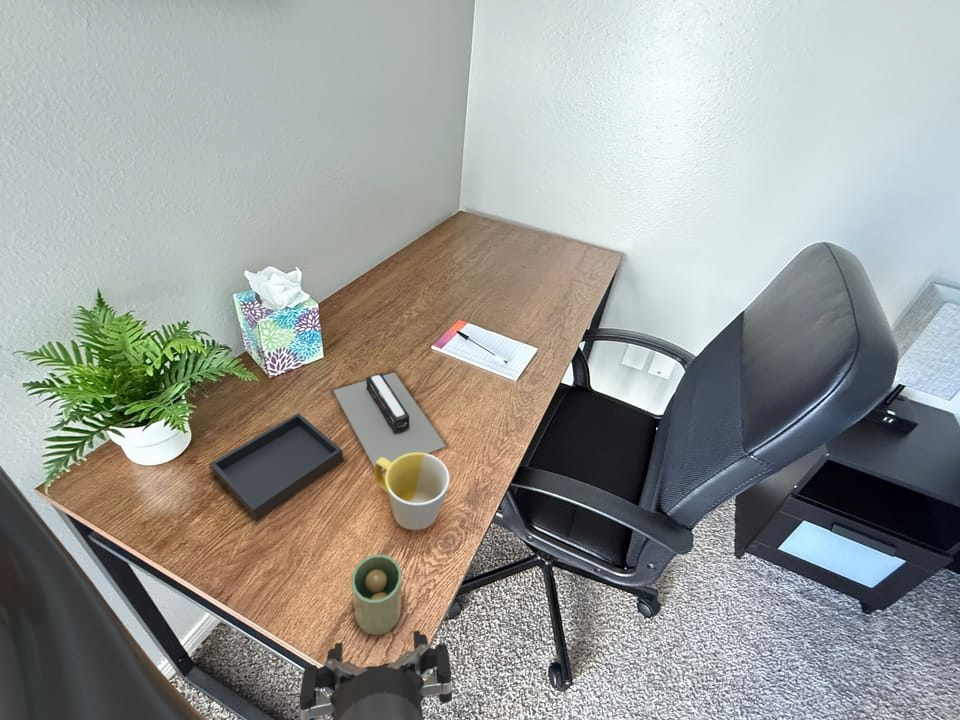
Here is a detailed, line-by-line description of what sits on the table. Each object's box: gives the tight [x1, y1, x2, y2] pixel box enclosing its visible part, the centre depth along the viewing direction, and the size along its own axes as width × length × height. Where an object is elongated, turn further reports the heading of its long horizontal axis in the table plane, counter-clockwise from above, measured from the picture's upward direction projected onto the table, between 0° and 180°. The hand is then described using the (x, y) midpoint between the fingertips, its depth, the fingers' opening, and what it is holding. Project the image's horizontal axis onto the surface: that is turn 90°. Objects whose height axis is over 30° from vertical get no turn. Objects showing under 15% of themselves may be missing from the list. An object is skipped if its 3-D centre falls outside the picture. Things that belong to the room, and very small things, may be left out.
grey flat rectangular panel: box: [332, 371, 447, 472], centre depth 96 cm, size 14×25×4 cm, turn 32°
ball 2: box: [370, 592, 388, 600], centre depth 63 cm, size 3×3×3 cm
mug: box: [374, 452, 451, 531], centre depth 78 cm, size 14×10×10 cm
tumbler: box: [350, 553, 403, 636], centre depth 64 cm, size 6×6×10 cm
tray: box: [209, 412, 344, 522], centre depth 83 cm, size 17×13×3 cm
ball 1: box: [365, 569, 387, 593], centre depth 64 cm, size 3×3×3 cm
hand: (378, 645), depth 52 cm, fingers open, 8 cm apart
